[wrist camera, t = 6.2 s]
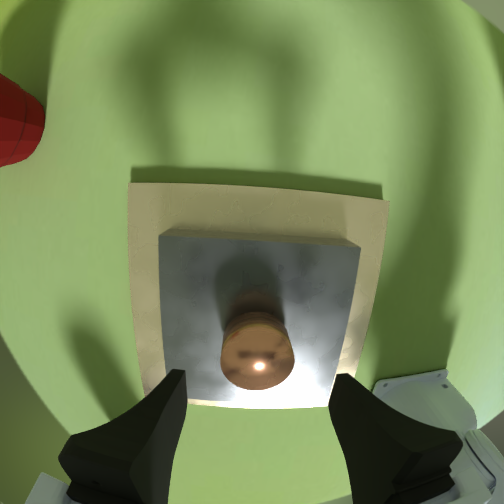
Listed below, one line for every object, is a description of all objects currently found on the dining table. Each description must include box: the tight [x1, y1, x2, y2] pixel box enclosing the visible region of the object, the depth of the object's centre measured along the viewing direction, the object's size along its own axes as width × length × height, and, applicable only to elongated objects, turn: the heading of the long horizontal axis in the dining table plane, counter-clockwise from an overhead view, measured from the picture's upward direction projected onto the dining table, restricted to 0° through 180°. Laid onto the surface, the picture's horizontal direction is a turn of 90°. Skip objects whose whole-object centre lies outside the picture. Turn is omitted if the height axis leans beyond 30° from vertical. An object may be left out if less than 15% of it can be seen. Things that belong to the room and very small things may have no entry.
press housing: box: [128, 183, 390, 408], centre depth 19 cm, size 18×18×4 cm
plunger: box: [220, 312, 295, 391], centre depth 18 cm, size 4×4×6 cm
